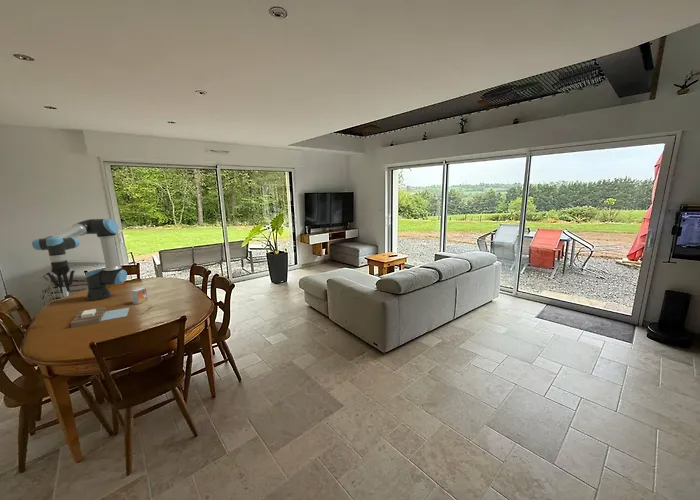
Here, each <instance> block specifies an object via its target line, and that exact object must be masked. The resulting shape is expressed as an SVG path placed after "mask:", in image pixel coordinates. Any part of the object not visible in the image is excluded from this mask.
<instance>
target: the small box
mask: <svg viewBox="0 0 700 500" xmlns="http://www.w3.org/2000/svg"><path fill="white" fill-rule="evenodd" d="M130 294H131V297H132V298H131V299H132V304H136V305H139V304H141V303H142V304H143V303H144V302H147V301H148V300H149V299H148V293H147V288H146V287H139V288H135V289H133V290H131V293H130Z"/></svg>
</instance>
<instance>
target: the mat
mask: <svg viewBox="0 0 700 500" xmlns="http://www.w3.org/2000/svg"><path fill="white" fill-rule="evenodd" d="M129 311H130V307H125V308H124V307H123V308H118V309H112V310H106V312H105V313H104V315H103V317H102V319H101V321H100V322H104V321H109V320H115V319H119V318H124V317H125V318H126V317H127V316H128V314H129Z"/></svg>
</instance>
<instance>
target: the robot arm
mask: <svg viewBox="0 0 700 500" xmlns="http://www.w3.org/2000/svg"><path fill="white" fill-rule="evenodd" d="M118 232H119V224H118V223H117V222H116V221H115V220H114V219H111V218H96V219H95V218H91V219H90V218H89V219H85V220H82V221H79V222H76V223H74V224H73V225H72V226H70V227H68V228H66V229H62V230H61V231H59V232H56V233H53V234H51V235H49V236H45V237H43V238H35V239H34V240H32V242H31V246H32V248H33V249H34V250H35V251H48V256H49V261H50V267H51V270H50V271H49V272H47V273H46V275H47V276H48V277H49V278H50V280H51V282H52V283H53V284H54V287H55V288H56V287H57V288H59V290H60V292H61V293H62V294H63V297H64V298H65V297H66V298H67V297H69V294H70V293H69V291H70V290H71V289H70V286H71V285H73V282H74V273H75V272H76V270H75V269H71V268H70V266H69V263H68V257H67V253H66V251H67V250H72V249H75V248H78V247H79V246H80V240H79V239H78V238H77V237H79V236H80V237H81V236H85V235H96V237H97V238H98V239H99V240H100V244H101V245H100V246H101V250H102V253H103V261H104V264H105V268H97V269H93V270H89V271H87V272H85V282H86V285H87V293H86V299H87V301H98V300H103V299H106V298H109V297H111V296H112V292H111V291H110V289H109V288H108V285H109V286H110V285H122V284H124V283H125V282H126V280H127V277H128V273H127V271H126V270H125V269H123V266H121V265H120V262H119V256H118V251H117V247H116V240H115V237H116V236H117V233H118ZM68 273H70V274H69V279H68ZM55 275H56V277H57V278H56V277H55ZM62 277H63V278H62ZM63 283H64V284H63Z"/></svg>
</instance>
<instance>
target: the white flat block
mask: <svg viewBox="0 0 700 500" xmlns="http://www.w3.org/2000/svg"><path fill="white" fill-rule="evenodd" d="M96 309H97V308H92V309H85V310H83V311H84V312H83V313H82V314H81V318H85V317H91V316H94V314H95V313H96Z"/></svg>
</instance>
